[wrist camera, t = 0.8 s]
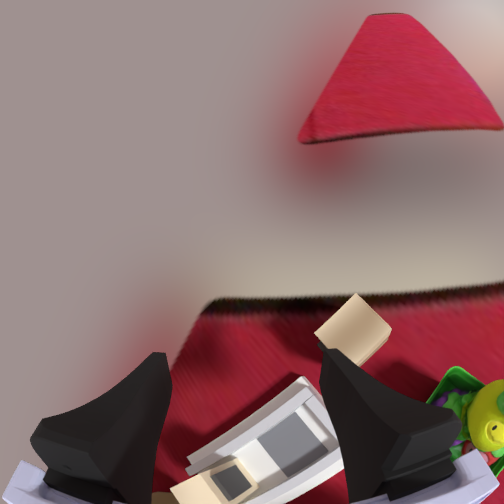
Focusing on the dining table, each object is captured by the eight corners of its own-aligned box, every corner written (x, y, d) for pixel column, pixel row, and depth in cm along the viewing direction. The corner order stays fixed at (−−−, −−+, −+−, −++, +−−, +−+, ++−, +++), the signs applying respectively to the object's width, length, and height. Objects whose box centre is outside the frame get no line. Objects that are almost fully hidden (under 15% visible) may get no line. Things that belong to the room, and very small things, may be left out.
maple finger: (387, 340, 25) (391, 328, 19) (349, 376, 25) (343, 375, 19) (360, 312, 27) (355, 293, 21) (323, 347, 27) (309, 337, 21)
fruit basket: (390, 430, 21) (400, 462, 11) (446, 354, 21) (488, 337, 12) (465, 481, 14) (503, 522, 5) (518, 407, 15) (578, 410, 6)
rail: (367, 447, 21) (364, 474, 14) (242, 520, 21) (202, 550, 14) (304, 376, 26) (278, 374, 19) (194, 454, 26) (143, 466, 19)
